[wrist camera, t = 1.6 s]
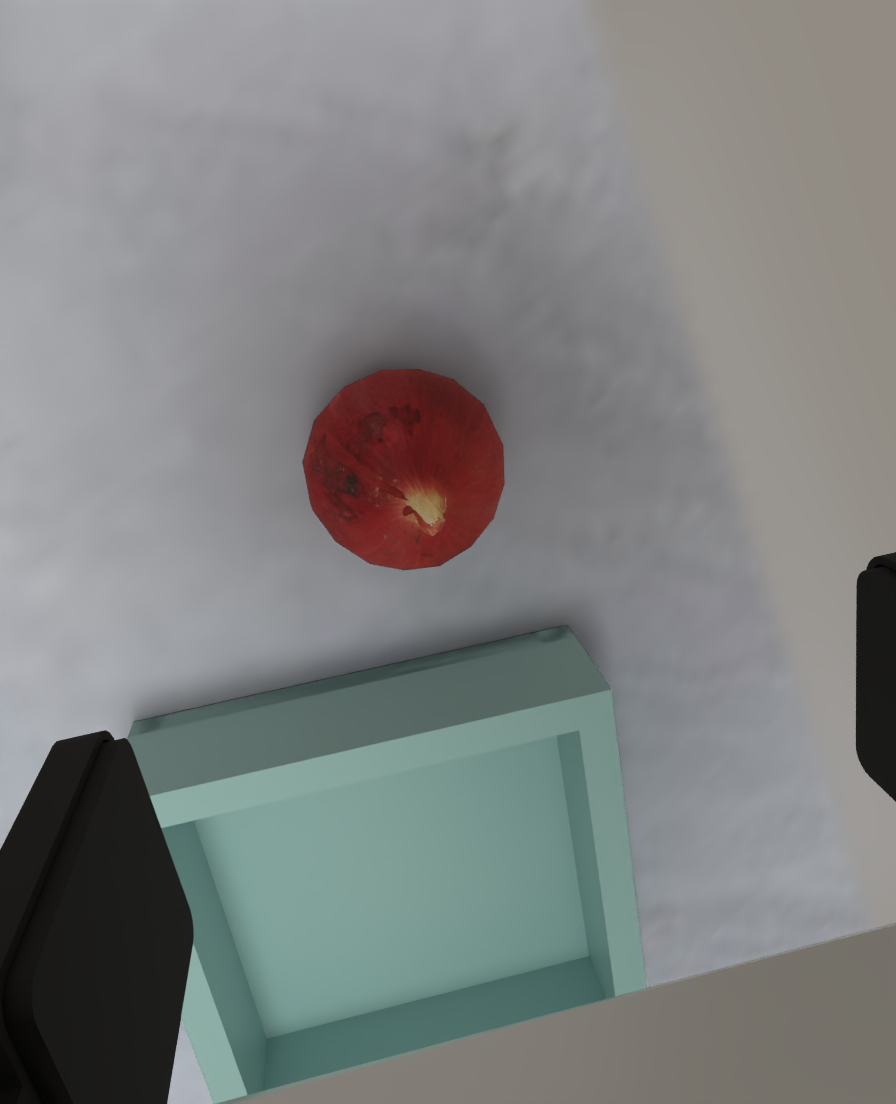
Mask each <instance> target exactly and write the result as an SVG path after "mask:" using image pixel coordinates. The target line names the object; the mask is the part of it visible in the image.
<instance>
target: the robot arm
mask: <svg viewBox="0 0 896 1104" xmlns="http://www.w3.org/2000/svg"><path fill="white" fill-rule="evenodd" d="M856 627H857V628H856V630H857V631H856V632H857V633H856V640H857V641H856V751H857V754H858V758H859V761H860V763H861V765H862V767H863V769H864V770H865V772H866V773H867V774H868V775H869V776H870V777H871V778H872V779H873V780H874V781H875V782H876V783H877V784H878V785H879V786H880V787H881V788H882V789H883V790H884V791H885V792H886V793H887V794H889V796H891V797H892V798H893V799H894V800H895V801H896V552H895V553H891V554H886V555H882V556H878V557H874V558H873V559H872V560H871V561H870V562H869V564H868V566H867V570H865V571H862V572H861V573H860V574H859V577H858V579H857V620H856ZM193 940H194V928H193V919H192V914H191V910H190V907H189V904H188V901H187V899H186V896H185V893H184V890H183V887H182V885H181V882H180V879H179V876H178V873H177V871H176V868H175V865H174V862H173V860H172V857H171V854H170V851H169V848H168V846H167V843H166V840H165V837H164V834H163V832H162V829H161V826H160V823H159V821H158V818H157V815H156V812H155V809H154V807H153V804H152V801H151V798H150V795H149V793H148V790H147V787H146V784H145V782H144V779H143V776H142V773H141V770H140V768H139V765H138V762H137V759H136V757H135V754H134V751H133V748H132V746H131V744H130V743H129V741H128V740H127V739H125V738H123V739H119V740H114V738H113V737H112V735H111V734H110V733H109V732H108V731H106V730H105V731H100V732H96V733H91V734H87V735H82V736H78V737H73V738H69V739H65V740H60V741H56V743H55V744H54V745H53V746H52V748H51V750H50V752H49V754H48V756H47V758H46V760H45V762H44V764H43V766H42V768H41V770H40V772H39V774H38V776H37V778H36V780H35V782H34V784H33V786H32V788H31V790H30V792H29V794H28V796H27V798H26V800H25V802H24V804H23V806H22V808H21V810H20V812H19V814H18V816H17V818H16V820H15V822H14V824H13V826H12V828H11V830H10V832H9V834H8V836H7V838H6V840H5V842H4V844H3V846H2V848H1V850H0V1104H167V1100H168V1094H169V1088H170V1082H171V1076H172V1070H173V1064H174V1057H175V1051H176V1045H177V1039H178V1033H179V1027H180V1021H181V1015H182V1009H183V1002H184V996H185V990H186V984H187V978H188V972H189V966H190V960H191V953H192V947H193ZM216 1104H896V923H894V924H890V925H886V926H882V927H878V928H874V929H870V930H867V931H863V932H859V933H855V934H851V935H847V936H844V937H840V938H836V939H832V940H828V941H824V942H821V943H817V944H813V945H809V946H805V947H802V948H798V949H794V950H790V951H786V952H782V953H779V954H775V955H771V956H767V957H763V958H760V959H756V960H752V961H748V962H744V963H740V964H737V965H733V966H729V967H725V968H721V969H718V970H714V971H710V972H706V973H702V974H699V975H695V976H691V977H687V978H683V979H680V980H676V981H672V982H668V983H665V984H661V985H657V986H653V987H649V988H646V989H642V990H638V991H634V992H630V993H627V994H623V995H619V996H615V997H612V998H608V999H604V1000H600V1001H596V1002H593V1003H589V1004H585V1005H581V1006H577V1007H574V1008H570V1009H566V1010H562V1011H559V1012H555V1013H551V1014H547V1015H544V1016H540V1017H536V1018H532V1019H529V1020H525V1021H521V1022H517V1023H514V1024H510V1025H506V1026H502V1027H499V1028H495V1029H491V1030H487V1031H484V1032H480V1033H476V1034H472V1035H469V1036H465V1037H461V1038H458V1039H454V1040H450V1041H446V1042H443V1043H439V1044H435V1045H432V1046H428V1047H424V1048H420V1049H417V1050H413V1051H409V1052H406V1053H402V1054H398V1055H394V1056H391V1057H387V1058H383V1059H380V1060H376V1061H372V1062H368V1063H365V1064H361V1065H357V1066H354V1067H350V1068H346V1069H342V1070H339V1071H335V1072H331V1073H328V1074H324V1075H320V1076H316V1077H313V1078H309V1079H305V1080H302V1081H298V1082H294V1083H290V1084H287V1085H283V1086H279V1087H275V1088H272V1089H268V1090H264V1091H261V1092H257V1093H253V1094H249V1095H246V1096H242V1097H238V1098H235V1099H231V1100H227V1101H223V1102H220V1103H216Z"/></svg>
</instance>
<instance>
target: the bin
mask: <svg viewBox="0 0 896 1104" xmlns="http://www.w3.org/2000/svg"><path fill="white" fill-rule="evenodd" d="M127 740H128V741H129V743H130V744H131V746H132V748H133V751H134V754H135V757H136V759H137V762H138V765H139V768H140V770H141V773H142V776H143V779H144V782H145V784H146V787H147V790H148V793H149V795H150V798H151V801H152V804H153V807H154V809H155V812H156V815H157V818H158V821H159V823H160V826H161V829H162V832H163V834H164V837H165V840H166V843H167V846H168V848H169V851H170V854H171V857H172V860H173V862H174V865H175V868H176V871H177V873H178V876H179V879H180V882H181V885H182V887H183V890H184V893H185V896H186V899H187V901H188V904H189V907H190V910H191V914H192V919H193V928H194V940H193V947H192V953H191V960H190V966H189V972H188V978H187V984H186V990H185V996H184V1002H183V1009H182V1015H181V1018H182V1021H183V1024H184V1026H185V1029H186V1032H187V1034H188V1037H189V1040H190V1042H191V1045H192V1047H193V1050H194V1053H195V1055H196V1058H197V1061H198V1063H199V1066H200V1069H201V1071H202V1074H203V1076H204V1079H205V1082H206V1084H207V1087H208V1090H209V1092H210V1095H211V1098H212V1100H213V1103H214V1104H216V1103H220V1102H223V1101H227V1100H231V1099H235V1098H238V1097H242V1096H246V1095H249V1094H253V1093H257V1092H261V1091H264V1090H268V1089H272V1088H275V1087H279V1086H283V1085H287V1084H290V1083H294V1082H298V1081H302V1080H305V1079H309V1078H313V1077H316V1076H320V1075H324V1074H328V1073H331V1072H335V1071H339V1070H342V1069H346V1068H350V1067H354V1066H357V1065H361V1064H365V1063H368V1062H372V1061H376V1060H380V1059H383V1058H387V1057H391V1056H394V1055H398V1054H402V1053H406V1052H409V1051H413V1050H417V1049H420V1048H424V1047H428V1046H432V1045H435V1044H439V1043H443V1042H446V1041H450V1040H454V1039H458V1038H461V1037H465V1036H469V1035H472V1034H476V1033H480V1032H484V1031H487V1030H491V1029H495V1028H499V1027H502V1026H506V1025H510V1024H514V1023H517V1022H521V1021H525V1020H529V1019H532V1018H536V1017H540V1016H544V1015H547V1014H551V1013H555V1012H559V1011H562V1010H566V1009H570V1008H574V1007H577V1006H581V1005H585V1004H589V1003H593V1002H596V1001H600V1000H604V999H608V998H612V997H615V996H619V995H623V994H627V993H630V992H634V991H638V990H642V989H646V988H647V986H646V978H645V969H644V961H643V952H642V944H641V936H640V927H639V919H638V910H637V902H636V893H635V885H634V876H633V868H632V859H631V851H630V842H629V834H628V825H627V817H626V808H625V800H624V791H623V783H622V774H621V766H620V757H619V749H618V741H617V732H616V724H615V715H614V707H613V698H612V690H611V688H610V687H609V685H608V684H607V682H606V681H605V679H604V678H603V676H602V675H601V673H600V672H599V670H598V669H597V667H596V666H595V664H594V663H593V662H592V660H591V659H590V657H589V656H588V654H587V653H586V651H585V650H584V648H583V647H582V645H581V644H580V642H579V641H578V639H577V638H576V636H575V635H574V634H573V632H572V631H571V629H570V628H569V626H568V625H565V626H561V627H556V628H552V629H547V630H543V631H538V632H534V633H530V634H525V635H521V636H516V637H512V638H507V639H503V640H498V641H494V642H489V643H485V644H480V645H476V646H471V647H467V648H463V649H458V650H454V651H449V652H445V653H440V654H436V655H431V656H427V657H422V658H418V659H413V660H409V661H404V662H400V663H395V664H391V665H387V666H382V667H378V668H373V669H369V670H364V671H360V672H355V673H351V674H346V675H342V676H337V677H333V678H328V679H324V680H320V681H315V682H311V683H306V684H302V685H297V686H293V687H288V688H284V689H279V690H275V691H270V692H266V693H261V694H257V695H252V696H248V697H244V698H239V699H235V700H230V701H226V702H221V703H217V704H212V705H208V706H203V707H199V708H194V709H190V710H185V711H181V712H177V713H172V714H168V715H163V716H159V717H154V718H150V719H145V720H141V721H136V722H134V723H133V725H132V728H131V730H130V733H129V736H128V738H127Z"/></svg>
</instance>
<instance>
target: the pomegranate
mask: <svg viewBox="0 0 896 1104" xmlns="http://www.w3.org/2000/svg"><path fill="white" fill-rule="evenodd" d="M303 467H304V473H305V478H306V483H307V488H308V494H309V499H310V503H311V506H312V509H313V511H314V513H315V514H316V515H317V517H318V518H319V520H320V521H321V522H322V524H323V525H324V526H325V528H326V529H327V530H328V532H329V533H330V535H331V536H332V537H333V539H334V540H335V541H336V542H337V543H339V544H340V545H342V546H343V547H345V548H346V549H348V550H349V551H351V552H352V553H354V554H356V555H357V556H359V557H360V558H362V559H363V560H365V561H366V562H368V563H370V564H373V565H379V566H384V567H390V568H395V569H401V570H410V569H419V568H427V567H435V566H441V565H442V564H444V563H445V562H447V561H449V560H450V559H452V558H453V557H455V556H457V555H458V554H460V553H462V552H463V551H465V550H466V549H468V548H470V547H471V546H472V545H473V543H474V542H475V541H476V540H477V538H478V537H479V536H480V535H481V533H482V532H483V531H484V530H485V528H486V527H487V526H488V525H489V523H490V522H491V521H492V520H493V518H494V515H495V512H496V509H497V506H498V502H499V499H500V496H501V493H502V490H503V487H504V456H503V444H502V442H501V440H500V438H499V436H498V433H497V431H496V429H495V427H494V425H493V423H492V421H491V419H490V416H489V414H488V412H487V410H486V408H485V406H484V404H483V403H481V402H480V401H479V400H478V399H477V398H475V397H474V396H473V395H472V394H470V393H469V392H468V391H467V390H466V389H464V388H463V387H462V386H461V385H460V384H458V383H457V382H456V381H455V380H454V379H450V378H447V377H444V376H440V375H437V374H433V373H430V372H427V371H423V370H420V369H405V370H380V371H378V372H376V373H374V374H372V375H370V376H367V377H365V378H363V379H361V380H359V381H356V382H354V383H352V384H350V385H348V386H345V387H344V388H343V389H342V390H341V391H340V392H339V393H338V395H337V396H336V397H335V398H334V399H333V400H332V401H331V402H330V403H329V404H328V406H327V407H326V408H325V409H324V410H323V411H322V412H321V413H320V414H319V415H318V417H317V418H316V419H315V420H314V423H313V426H312V430H311V434H310V437H309V441H308V444H307V448H306V451H305V455H304V458H303Z"/></svg>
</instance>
